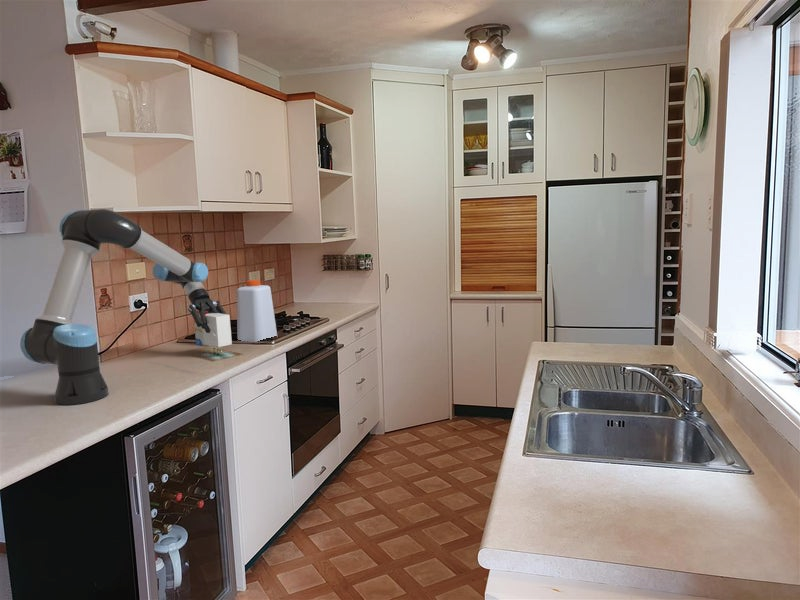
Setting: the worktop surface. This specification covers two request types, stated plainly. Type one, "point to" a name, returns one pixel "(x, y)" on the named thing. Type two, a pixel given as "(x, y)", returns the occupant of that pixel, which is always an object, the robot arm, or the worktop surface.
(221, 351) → the header pins
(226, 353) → the dock board
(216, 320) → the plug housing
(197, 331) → the ink box
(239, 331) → the plastic bottle
